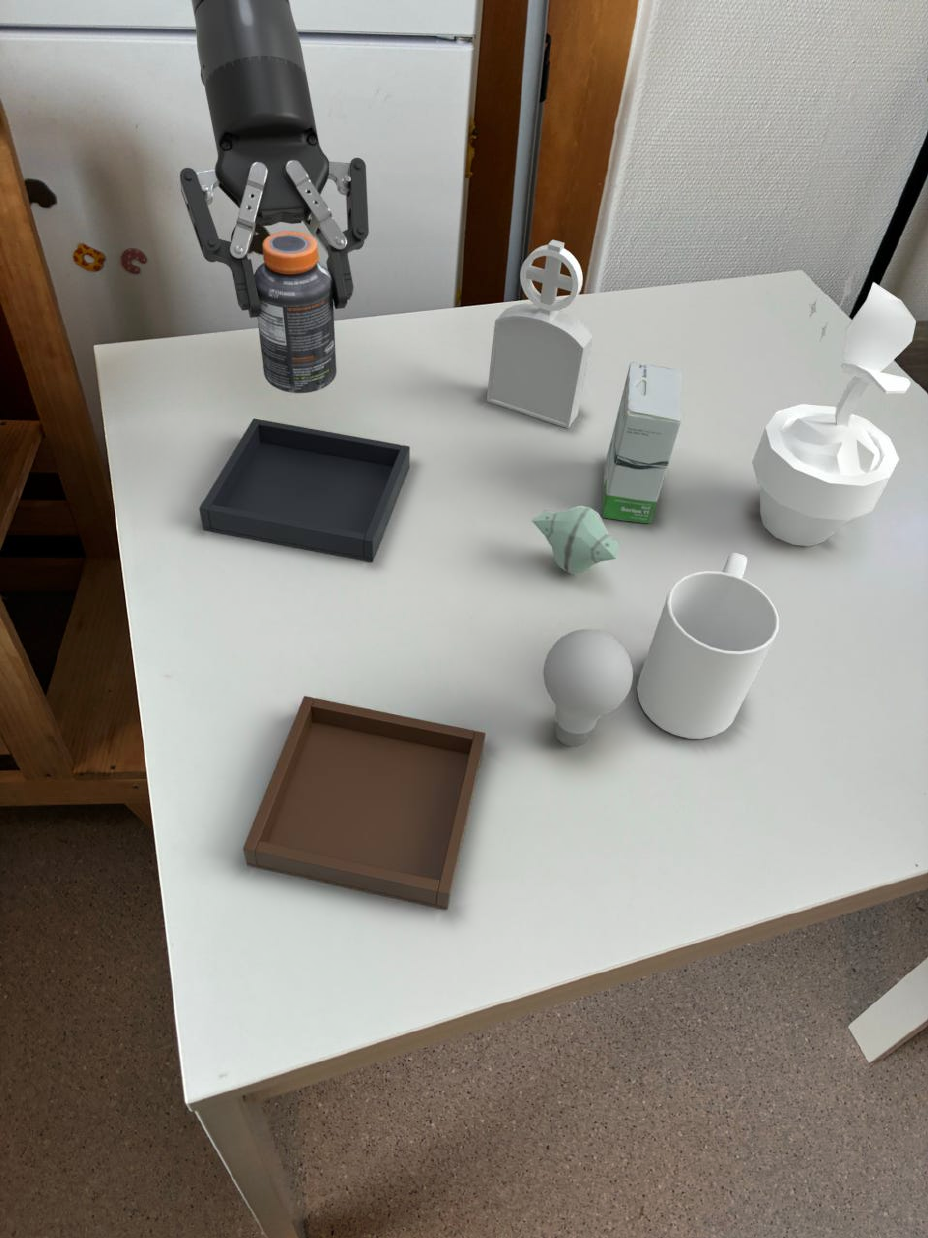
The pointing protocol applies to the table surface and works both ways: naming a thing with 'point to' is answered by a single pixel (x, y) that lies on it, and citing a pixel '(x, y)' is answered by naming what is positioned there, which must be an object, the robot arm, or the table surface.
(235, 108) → the robot arm
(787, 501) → the potted plant
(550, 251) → the gravestone
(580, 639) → the lightbulb
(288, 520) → the far tray
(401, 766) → the near tray
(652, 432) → the ink box
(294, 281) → the pill bottle
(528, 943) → the table surface
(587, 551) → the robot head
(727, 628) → the mug
